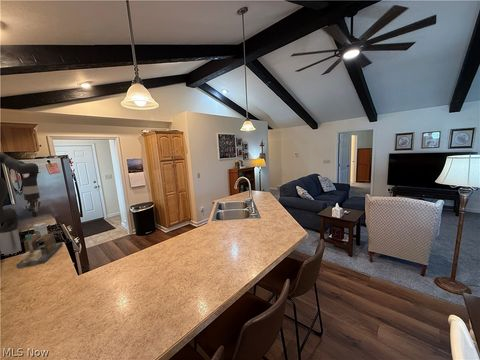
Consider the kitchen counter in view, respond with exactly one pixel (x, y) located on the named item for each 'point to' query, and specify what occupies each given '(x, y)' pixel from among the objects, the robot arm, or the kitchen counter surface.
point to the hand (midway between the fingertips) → (35, 216)
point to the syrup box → (40, 229)
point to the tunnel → (46, 249)
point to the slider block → (31, 252)
